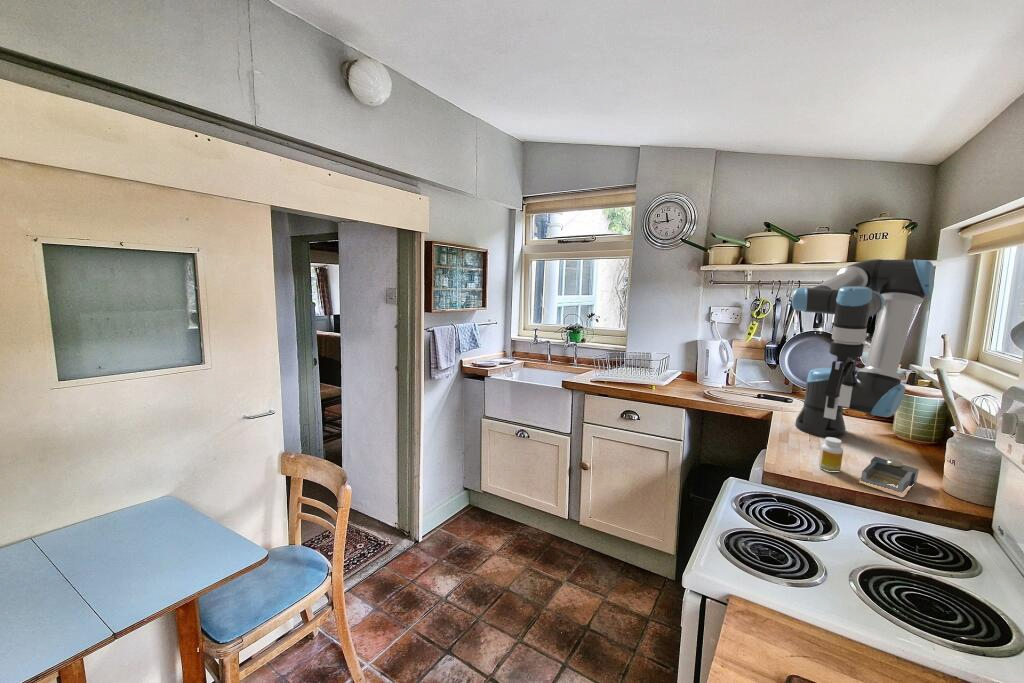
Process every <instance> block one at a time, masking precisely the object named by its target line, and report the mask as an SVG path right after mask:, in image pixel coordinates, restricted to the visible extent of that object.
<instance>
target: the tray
mask: <svg viewBox="0 0 1024 683" xmlns="http://www.w3.org/2000/svg"><path fill="white" fill-rule="evenodd" d="M919 471H920V469H919V468H917V467H913V466H910V465H906V464H904V463H903V462H902V461H900V460H897V459H892V458H888V459H885V458H882V457H878V456H874V457H872V459H871V460H870V463H869V464H868V465H867V466H866V467H865V468H864V469H862V471H861V477H860V478H859V479H861V481H863V482H866V483H870V484H873V485H877V486H881V487H884V488H888V489H892V490H894V491H897V492H901V493H902V492H903V491H904V490H905V489H906V488H907V487H908V486H912V485H913V484H914V483H915V482H916V483H917V482H918V481H917V480H918V476H919ZM916 483H915V484H916ZM887 484H894V485H895V486H897V485H898V488H896V487H893V486H890V485H887ZM915 484H914V485H915Z"/></svg>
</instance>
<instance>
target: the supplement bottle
mask: <svg viewBox="0 0 1024 683" xmlns="http://www.w3.org/2000/svg"><path fill="white" fill-rule="evenodd" d="M824 438H825V439H824V443H823V444H822V445H821V448H820V453H819V461H818V468H819V467H820V468H822V469H825V470H828V471H840V472H841V468H842V461H843V456H844V455H843V454H844V449H843V447H841V446H842V439H839V438H838V437H824ZM820 468H819V469H820Z"/></svg>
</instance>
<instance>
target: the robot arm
mask: <svg viewBox="0 0 1024 683" xmlns="http://www.w3.org/2000/svg"><path fill="white" fill-rule="evenodd" d="M934 289H935V268H934V264H933V263H932V261H930V260H925V259H915V258H913V259H880V258H877V259H875V258H874V259H868V260H863V261H859V262H856V263H851V264H850V265H848V266H847V265H846V266H845V267H843V268H841V269H840V270H839V271H838V272H837V273H836V275H834V276H832V277H830V278H829V279H826V280H824V281H823V282H821V283H819V284H817V285H815V286H814V287H812V288H811V287H797V288H795V290H794V292H793V294H792V297H791V306H792V309H793V310H794V311H797V312H804V313H814V314H815V313H816V314H824V315H825V314H827V315H834V318H833V327H832V328H830V332H832V333H831V339H832V340H831V342H830V344H829V345H830V347H829V354H831V355H833V356H835V357H836V360H834V361H832V363H831V367H818V368H817V367H816V368H813V369H811V370H809V372H808V373H807V379H806V386H805V392H804V393H805V394H804V400H803V401H804V402H803V406H802V408H801V410H800V411H799V414H798V415H797V416H796V419H795V425H794V426H795V427H796V428H797V429H798V430H800V431H802V432H805V433H807V434H810V435H814V436H817V437H824V438H826V437H833V438H842V437H844V436H845V435H846V429H847V428H846V424H845V421H844V420H845V419H844V416H843V409H847V410H852V411H855V412H860V413H863V414H869V415H871V416H878V417H884V418H889V417H892V416H894V415H895V414H896V413H897V411H898V409H899V408H900V406H901V404H902V402H903V399H904V397H905V392H906V386H905V385H903V384H901V383H902V379H901V378H900V377H899V375H898V371H899V366H900V363H901V359H902V357H903V356H902V355H903V352H904V348H905V344H906V341H907V337H908V335H909V330H910V328H911V324H912V323H911V322H912V320H913V317H914V312H915V308H916V306H917V305H919V304H921V303H923V301H924V298H925V296H926V297H928V296H932V294H933V291H934ZM878 313H879V314H878ZM877 314H878V316H877V321H876V324H875V329H874V332H873V335H872V338H871V342H870V346H869V350H868V353H867V357H866V360H865V365H864V367H863V368H861V369H859V370H857V372H856V361H857V358H858V359H859V358H861V357H863V353H864V346H865V344H864V342H865V341H866V337H867V336H866V335H867V329H868V321H869V318H870V317H872V316H876V315H877Z"/></svg>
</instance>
